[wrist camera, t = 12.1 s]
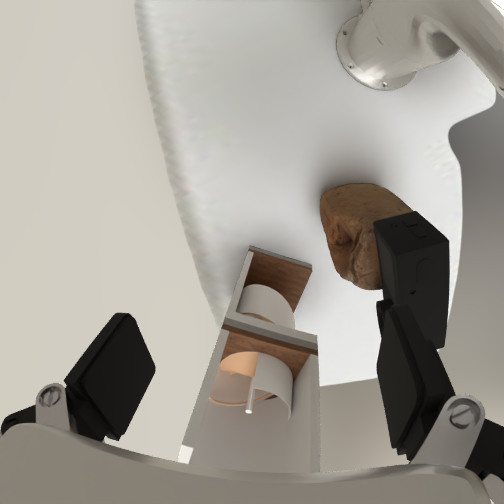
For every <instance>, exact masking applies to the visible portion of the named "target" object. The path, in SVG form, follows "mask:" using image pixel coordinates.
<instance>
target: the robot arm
mask: <svg viewBox="0 0 504 504" xmlns="http://www.w3.org/2000/svg"><path fill="white" fill-rule="evenodd" d="M360 2H361V6H362V8H363V12H362V13H361V14H360V15H359V16H356V17H354V18H352V19H350V20H349V21H347V22H346V23H345V24H344V26H343V27H342V28H341V30H340V32H339V34H338V38H337V52H338V56H339V58H340V61H341V63H342V65H343V66H344V68H345V69H346V71H347V72H348V73H349V74H350V75H351V76H352V77H353V78H354V79H355V80H357V81H358V82H360V83H361V84H363V85H365V86H367V87H369V88H372V89H376V90H384V91H387V90H394V89H398V88H401V87H403V86H405V85H406V84H408V83H409V82H410V81H411V80H412V78H413V77H414V75H415V74H416V71H417V70H420V69H423V68H426V67H429V66H432V65H435V64H438V63H441V62H444V61H446V60H448V59H450V58H452V57H453V56H454V55H455V54H456V53H457V52H458V51H459V50H460V48H461V49H462V50H463V52H464V53H465V54H466V55H467V56H469V57H470V58H471V59H472V60H473V62H474V63H475V64H476V65H477V66H478V67H479V68H480V70H481V71H482V72H483V73H484V74H485V76H486V77H487V78H488V79H489V80H490V82H491V83H492V84H493V86H494V87H495V88H496V89H497V90H498V92H499V93H500V95H501V96H502V97H503V98H504V0H373V2H372V3H371V5H370V1H369V0H360ZM343 33H346V35H344V34H343ZM349 66H351V67H352V68H351V69H350V68H349ZM382 84H384V85H385V87H383V86H382ZM154 374H155V364H154V362H153V360H152V358H151V355H150V353H149V351H148V349H147V346H146V344H145V342H144V339H143V337H142V335H141V332H140V330H139V327H138V325H137V322H136V320H135V319H134V318H133V317H132V316H131V315H130V314H129V313H116V314H115V315H113V317H112V318H111V319H110V320H109V322H108V323H107V324H106V325H105V327H104V328H103V329H102V330H101V332H100V333H99V334H98V335H97V337H96V338H95V339H94V341H93V342H92V343H91V344H90V346H89V347H88V348H87V350H86V351H85V352H84V354H83V355H82V356H81V358H80V359H79V360H78V362H77V363H76V364H75V366H74V367H73V368H72V370H71V371H70V372H69V374H68V375H67V376H66V378H65V379H64V382H65V383H66V385H67V386H66V388H64V387H63V386H62V385H61V384H59V383H53V384H49V385H47V386H45V387H44V388H43V389H41V391H40V392H39V393H38V395H37V397H36V405H33V406H31V407H28V408H26V409H23V410H21V411H18V412H15V413H13V414H11V415H9V416H7V417H6V418H5V419H4V421H3V423H2V426H1V430H0V504H491V501H490V499H491V500H492V501H493V502H494V503H495V504H504V427H503V426H501V425H499V424H496V423H494V422H492V421H490V420H487V419H485V410H484V407H483V405H482V403H481V402H480V401H479V400H478V399H477V398H475V397H473V396H471V395H467V394H459V395H455V392H454V390H453V387H452V385H451V382H450V380H449V377H448V375H447V373H446V370H445V368H444V366H443V363H442V361H441V359H440V357H439V354H438V352H437V350H436V348H435V346H434V344H433V342H432V340H431V339H430V338H424V336H423V334H422V332H421V330H420V328H419V325H418V323H417V321H416V319H415V317H414V315H413V313H412V311H411V309H410V307H409V305H408V304H397V305H392V306H391V308H390V310H386V313H385V320H384V326H383V332H382V339H381V344H380V350H379V355H378V360H377V375H378V379H379V384H380V389H381V394H382V398H383V403H384V408H385V413H386V419H387V424H388V430H389V435H390V441H391V446H392V448H397V454H398V455H403V454H406V456H407V460H409V461H410V462H409V464H407V465H396V466H387V467H379V468H369V469H361V470H350V471H336V472H315V473H270V472H251V471H239V470H228V469H220V468H212V467H204V466H198V465H192V464H186V463H180V462H175V461H170V460H165V459H161V458H156V457H152V456H148V455H144V454H140V453H136V452H132V451H129V450H125V449H121V448H118V447H115V446H111V445H109V444H105V441H104V437H105V435H106V436H107V437H108V438H110V439H113V440H116V441H119V439H120V437H121V435H123V434H125V432H126V430H127V428H128V426H129V424H130V422H131V420H132V418H133V416H134V414H135V412H136V410H137V408H138V406H139V404H140V401H141V400H142V397H143V396H144V394H145V392H146V390H147V387H148V385H149V384H150V382H151V380H152V378H153V376H154Z"/></svg>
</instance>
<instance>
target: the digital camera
mask: <svg viewBox="0 0 504 504" xmlns="http://www.w3.org/2000/svg"><path fill="white" fill-rule="evenodd" d="M373 227H374V232H375V238H376V245H377V251H378V258H379V265H380V273H381V281H382V289H383V298H384V300H381V301H377V303H376V309H377V317H378V324H379V329H380V334H381V338H382V332H383V326H384V320H385V313H386V310H390V308H391V306H392V305H397V304H408V305H409V307H410V309H411V311H412V313H413V315H414V317H415V319H416V321H417V323H418V325H419V328H420V330H421V332H422V334H423V336H424V338H430V339H431V340H432V342H433V344H434V346H435V348H436V349H440V348H443V347H444V345H445V337H446V329H447V318H448V304H449V277H450V261H449V240H448V239H447V238H446V237H445V236H444V235H443V234H442V233H441V232H440V231H439V230H437V229H436V228H435V227H434V226H433V225H432V224H431V223H430V222H428V221H427V220H426V219H425V218H424V217H423V216H421V215H420V214H419V213H418V212H417V211H413V212H409V213H405V214H401V215H397V216H393V217H389V218H385V219H381V220H377V221H374V222H373Z"/></svg>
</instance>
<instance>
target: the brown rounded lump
mask: <svg viewBox="0 0 504 504" xmlns="http://www.w3.org/2000/svg"><path fill="white" fill-rule="evenodd" d="M409 212H413V210H412V209H411V208H410V207H409V206H408V205H406V204H405V203H404V202H403V201H402V200H401V199H400V198H399V197H397V196H396V195H395V194H393V193H392V192H390V191H389V190H388V189H386V188H382V187H379V186H376V185H374V184H365V183H360V184H355V183H354V184H347V185H345V186H339V187H336V188H334V189H331V190H330V191H328V192H325V193H324V194H323V195H322V197H321V200H320V215H321V221H322V225H323V228H324V232H325V234H326V237H327V243H328V247H329V250H330V254H331V258H332V260H333V263H334V266H335V269H336V271H337V272H338V273H339V274H340V276H341V277H342V278H343V279H345V280H348V281H351V282H352V283H353V284H354V285H356V286H358V287H359V288H361V289H365V290H380V289H382V281H381V273H380V265H379V258H378V251H377V245H376V238H375V232H374V227H373V222H374V221H377V220H381V219H385V218H389V217H393V216H397V215H401V214H405V213H409Z"/></svg>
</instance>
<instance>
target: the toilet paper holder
mask: <svg viewBox="0 0 504 504" xmlns="http://www.w3.org/2000/svg"><path fill="white" fill-rule="evenodd" d="M311 272H312V265H310V264H307V263H304V262H301V261H297V260H294V259H291V258H288V257H285V256H282V255H278V254H275V253H272V252H269V251H266V250H262V249H259V248H256V247H253V246H250V247H249V250H248V253H247V256H246V259H245V262H244V265H243V268H242V270H241V273H240V276H239V279H238V282H237V285H236V288H235V291H234V293H233V296H232V299H231V302H230V305H229V308H228V311H227V314H226V316H225V319H224V322H223V325H222V328H221V331H220V334H219V337H218V340H217V343H216V345H215V348H214V351H213V354H212V357H211V360H210V363H209V366H208V369H207V372H206V375H205V377H204V380H203V383H202V387H201V389H200V392H199V395H198V398H197V401H196V404H195V407H194V409H193V413H192V415H191V418H190V421H189V424H188V427H187V430H186V433H185V436H184V439H183V442H182V445H181V449H180V453H179V458H178V462H180V463H186V464H192V465H198V466H204V467H212V468H220V469H228V470H239V471H251V472H270V473H315V472H320V392H319V364H318V344H317V335H313V334H309V333H305V332H302V331H298V330H295V319H294V314H293V313H294V311H295V309H296V306H297V304H298V302H299V300H300V298H301V295H302V293H303V291H304V288H305V286H306V284H307V282H308V279H309V277H310V275H311Z"/></svg>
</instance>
